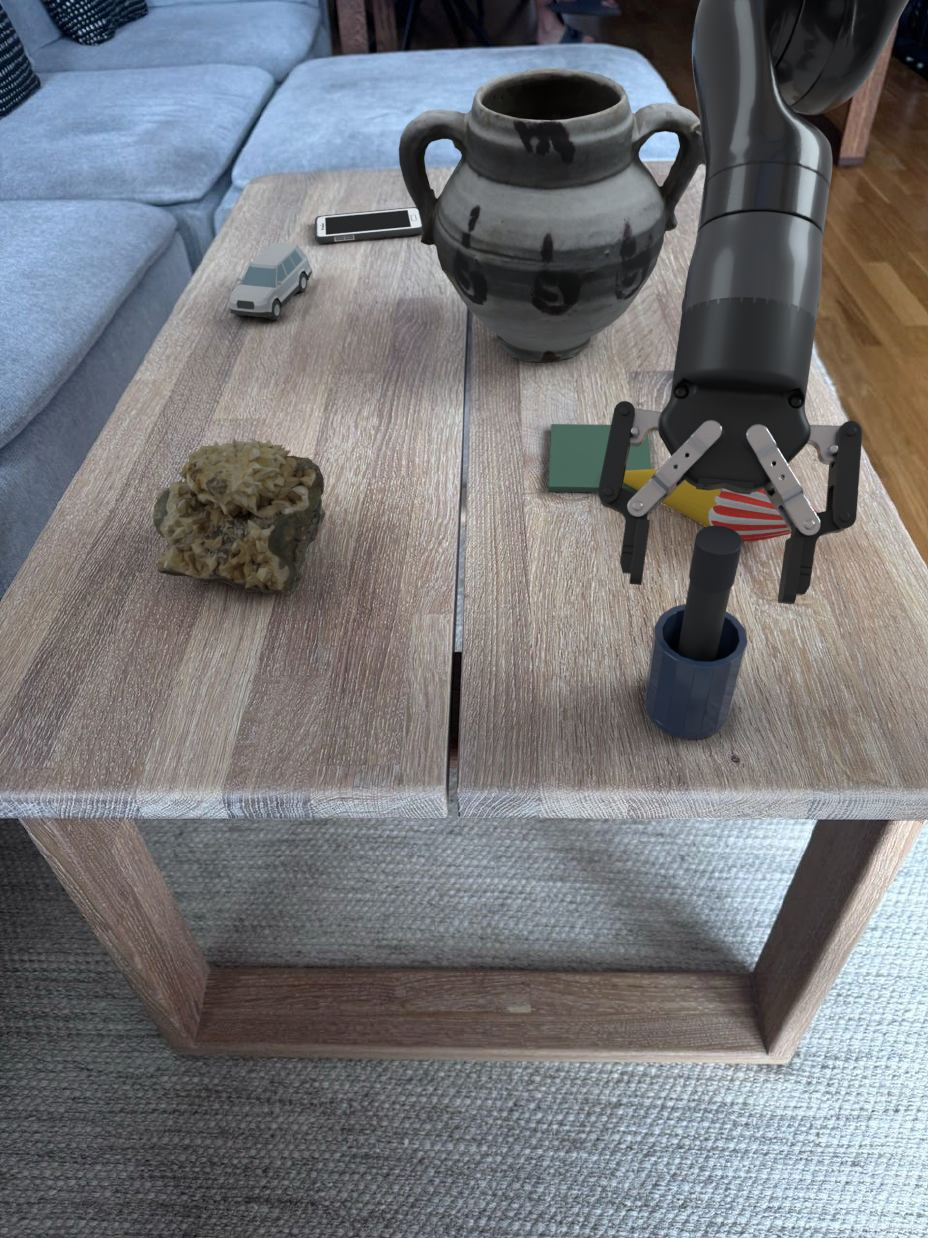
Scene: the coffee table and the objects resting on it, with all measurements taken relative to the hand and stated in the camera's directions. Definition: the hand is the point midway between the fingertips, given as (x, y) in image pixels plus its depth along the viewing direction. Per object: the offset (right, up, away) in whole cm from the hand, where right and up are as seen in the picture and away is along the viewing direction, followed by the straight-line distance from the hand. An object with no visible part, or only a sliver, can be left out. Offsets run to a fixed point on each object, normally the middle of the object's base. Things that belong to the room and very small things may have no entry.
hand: (709, 593), depth 53 cm
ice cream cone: (+6, +7, +23) cm, 25 cm away
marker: (+1, -7, +8) cm, 11 cm away
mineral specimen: (-33, +3, +22) cm, 40 cm away
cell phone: (-27, +52, +71) cm, 92 cm away
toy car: (-37, +36, +57) cm, 77 cm away
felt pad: (-2, +13, +30) cm, 33 cm away
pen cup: (+1, -7, +9) cm, 12 cm away
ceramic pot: (-5, +28, +46) cm, 54 cm away
